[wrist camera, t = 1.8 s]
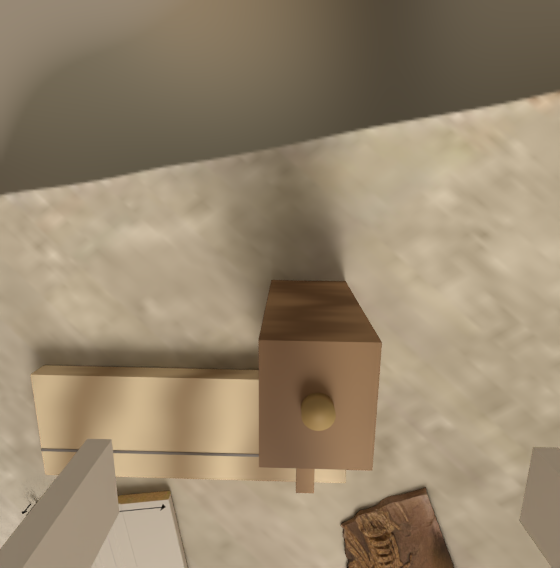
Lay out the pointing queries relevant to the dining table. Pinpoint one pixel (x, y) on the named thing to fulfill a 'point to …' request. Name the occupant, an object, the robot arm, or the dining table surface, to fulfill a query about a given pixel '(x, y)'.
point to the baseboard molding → (143, 534)
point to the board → (158, 421)
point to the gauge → (316, 380)
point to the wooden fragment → (396, 535)
